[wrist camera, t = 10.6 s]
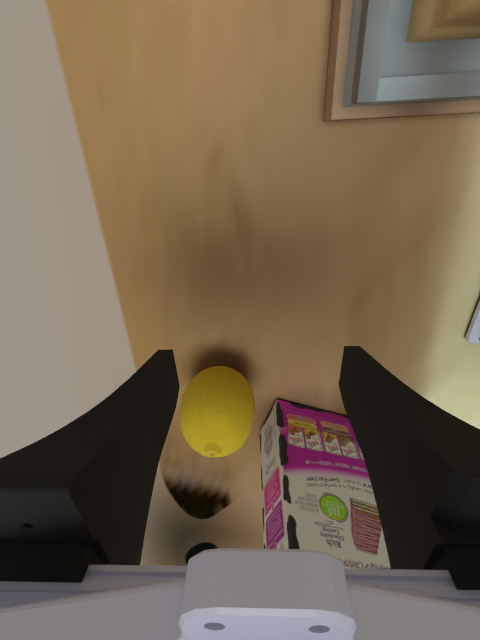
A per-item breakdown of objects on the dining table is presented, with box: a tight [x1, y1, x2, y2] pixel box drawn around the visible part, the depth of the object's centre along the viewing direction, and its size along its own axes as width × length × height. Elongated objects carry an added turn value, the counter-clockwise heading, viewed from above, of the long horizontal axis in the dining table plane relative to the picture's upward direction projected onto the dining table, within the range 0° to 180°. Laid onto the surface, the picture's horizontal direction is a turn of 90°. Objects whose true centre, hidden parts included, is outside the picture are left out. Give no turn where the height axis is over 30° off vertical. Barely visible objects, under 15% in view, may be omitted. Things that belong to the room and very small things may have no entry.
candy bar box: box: [260, 400, 391, 569], centre depth 23 cm, size 11×5×16 cm, turn 73°
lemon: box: [180, 366, 255, 457], centre depth 24 cm, size 6×6×8 cm
